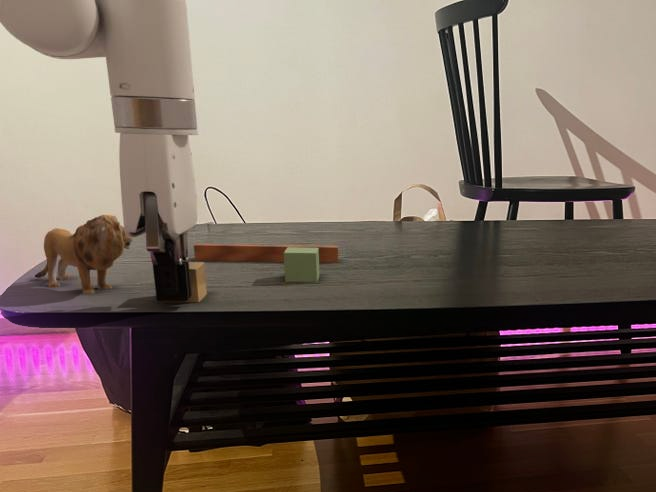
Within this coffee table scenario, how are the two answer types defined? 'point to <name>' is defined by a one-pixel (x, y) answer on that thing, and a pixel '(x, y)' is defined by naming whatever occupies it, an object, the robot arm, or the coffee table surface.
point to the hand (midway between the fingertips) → (174, 299)
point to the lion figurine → (85, 251)
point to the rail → (256, 252)
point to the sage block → (301, 264)
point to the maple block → (196, 282)
